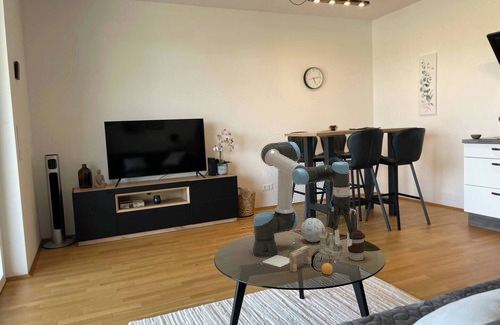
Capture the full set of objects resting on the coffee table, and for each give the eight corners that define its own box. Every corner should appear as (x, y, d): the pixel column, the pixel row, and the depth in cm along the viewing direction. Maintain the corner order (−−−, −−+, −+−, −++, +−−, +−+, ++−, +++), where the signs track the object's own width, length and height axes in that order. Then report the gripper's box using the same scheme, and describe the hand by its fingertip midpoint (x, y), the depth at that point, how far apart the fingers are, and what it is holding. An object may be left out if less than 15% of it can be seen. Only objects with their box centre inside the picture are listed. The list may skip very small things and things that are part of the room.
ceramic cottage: (335, 258, 202) (334, 230, 202) (313, 252, 216) (312, 226, 215) (353, 252, 212) (352, 226, 211) (331, 247, 225) (330, 222, 224)
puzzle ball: (325, 245, 225) (324, 221, 223) (300, 245, 227) (299, 221, 226) (324, 237, 240) (323, 215, 238) (301, 237, 242) (300, 215, 241)
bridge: (289, 270, 188) (289, 253, 187) (306, 262, 199) (305, 245, 198) (294, 272, 186) (293, 254, 185) (311, 263, 197) (310, 246, 196)
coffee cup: (366, 262, 194) (365, 234, 193) (347, 261, 196) (346, 234, 195) (364, 255, 204) (364, 228, 202) (346, 255, 206) (345, 228, 204)
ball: (319, 274, 181) (319, 263, 181) (325, 271, 185) (325, 260, 185) (329, 277, 177) (328, 266, 177) (335, 273, 181) (334, 262, 181)
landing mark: (261, 262, 203) (261, 261, 203) (277, 255, 212) (277, 255, 212) (280, 267, 194) (280, 267, 194) (295, 260, 203) (295, 259, 203)
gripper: (319, 195, 175) (321, 242, 177) (356, 198, 162) (357, 250, 164) (328, 192, 180) (330, 238, 182) (364, 195, 167) (365, 245, 169)
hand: (343, 244), depth 173 cm, fingers open, 6 cm apart
